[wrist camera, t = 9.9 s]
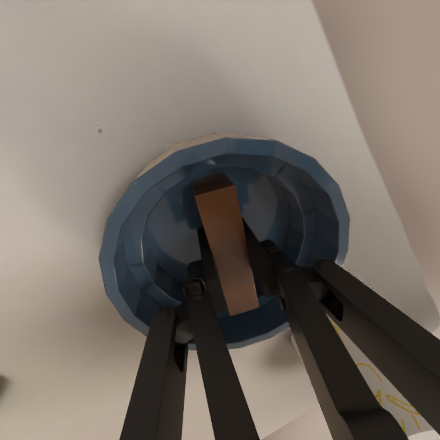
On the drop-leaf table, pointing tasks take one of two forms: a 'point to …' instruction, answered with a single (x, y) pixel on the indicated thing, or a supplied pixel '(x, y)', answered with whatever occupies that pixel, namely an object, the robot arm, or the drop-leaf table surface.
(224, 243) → the stick
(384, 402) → the white patterned canister
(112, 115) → the drop-leaf table surface
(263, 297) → the bowl
